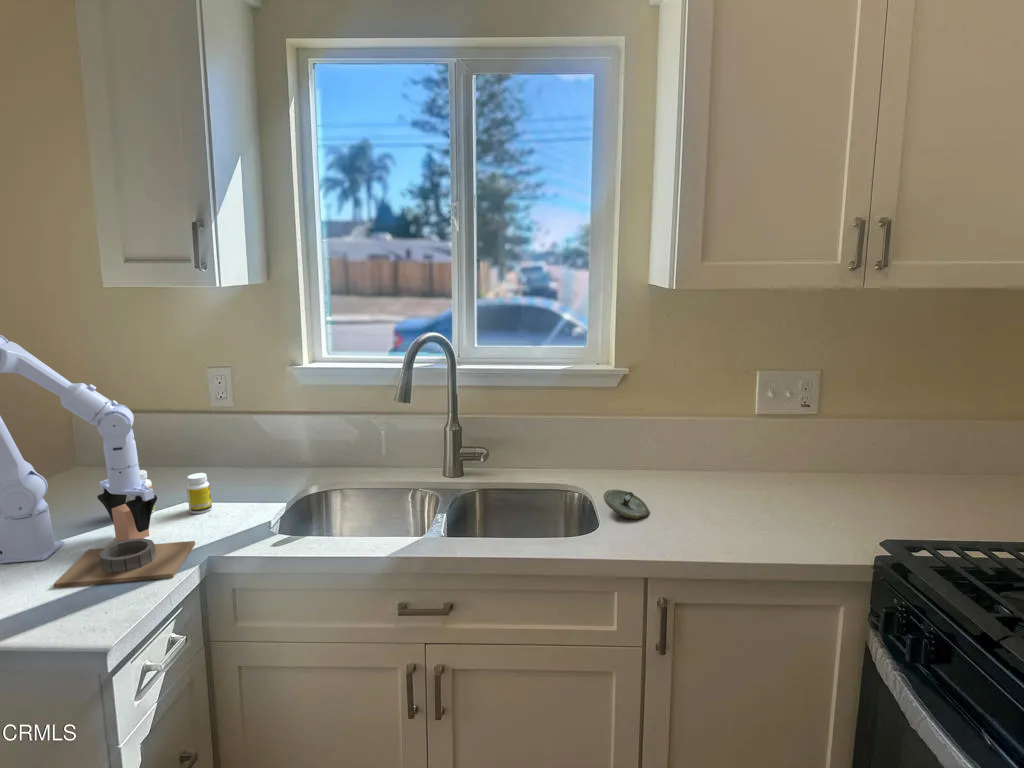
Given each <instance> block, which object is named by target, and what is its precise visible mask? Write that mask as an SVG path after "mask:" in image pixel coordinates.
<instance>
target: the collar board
mask: <svg viewBox="0 0 1024 768" xmlns="http://www.w3.org/2000/svg"><path fill="white" fill-rule="evenodd" d="M194 545H195V546H196V540H189V541H178V542H177V541H176V542H175V541H174V542H165V543H154V541H153V540H152V539H147V538H143V539H142V538H140V539H130V540H125V541H118V542H114V543H112V544H110V545H108V546H106V547H103V548H101V547H100V548H99V547H98V548H92V549H91V548H90V549H87V550H86V552H84V553H83V554H82V555H81V556H80V557H79V558H78V559H77V560H76V561H75V562H74V563H73V564H72V565H71V566H70V567H69V568H68V569H67V570H66V571H65V572H64V573H63V574H62V575H61V576H60V577H59V578H58V579H57V580H56V581H55V582H54V583H53V587H54V589H56V588H57V589H59V588H68V587H80V586H90V585H92V586H93V584H94V585H102V584H104V585H105V584H115V583H124V582H136V581H137V582H138V581H148V580H151V581H152V580H161V579H170V578H171V579H172V578H174V577H175V576H176V574H177V572H178V571H179V569H180V568H181V567H182V566H183V563H184V562H185V561H186V559H187V557H188V556H189V555H190V553H191V552H192V550H193V549H194V547H195V546H194ZM192 548H193V549H192Z"/></svg>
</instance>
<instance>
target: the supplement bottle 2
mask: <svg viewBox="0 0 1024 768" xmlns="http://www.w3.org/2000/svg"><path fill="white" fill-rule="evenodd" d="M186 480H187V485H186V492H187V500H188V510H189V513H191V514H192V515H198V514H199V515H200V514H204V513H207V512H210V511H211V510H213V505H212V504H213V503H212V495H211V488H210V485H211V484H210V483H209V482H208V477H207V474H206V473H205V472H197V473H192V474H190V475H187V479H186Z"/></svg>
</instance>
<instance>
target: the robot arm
mask: <svg viewBox="0 0 1024 768" xmlns="http://www.w3.org/2000/svg"><path fill="white" fill-rule="evenodd" d="M1 373H2V374H19V375H21V376H23V377H24V378H26V379H29V380H30V381H32V382H33V383H35V384H37V385H39V386H40V387H42V388H44V389H46V390H48V392H51V393H53V394H54V395H56V396H58V397H59V399H60V403H61V406H62V408H65V409H66V410H67V411H69V412H71V413H72V414H74V415H76V416H78V417H79V418H81V419H82V420H84V421H85V422H87V423H89V424H90V425H92V426H95V427H96V429H97V432H98V434H99V435H100V436H101V437H102V441H103V442H102V443H103V446H102V447H103V455H104V459H105V466H106V467H105V468H106V473H107V478H106V479H104V480H101V481H99V482H98V483H99V485H98V486H99V489H100V491H102V492H103V493H101V494H98V495H97V497H96V498H97V500H99V502H101V504H102V505H103V507H104V508H105V510H106V511H107V513H108V515H109V516H110V519H111V522H112V523H113V524H114V522H113V516H112V508H115V507H118V506H120V505H123V504H126V505H127V506H128V508H129V509H130V511H131V513H132V515H133V518H134V522H135V526H136V529H137V531H138V532H142V531H145V530H147V529H150V524H151V523H150V522H151V517H152V514H153V513H152V509H153V507H154V504H155V505H156V502H157V500H158V496H157V495H156V494H154V489H153V488H152V489H151V488H149V487H147V486H146V485H145V483H146V480H144V479H141V478H140V471H139V470H140V465H139V464H140V463H139V457H138V450H137V444H136V439H135V434H134V429H133V428H132V426H133V425H134V420H135V417H134V416H135V415H134V414H133V412H132V410H131V409H129V408H128V406H127V405H124V404H121V403H120V404H119V403H118V402H117V401H116V400H114V399H113V400H110V399H109V398H108V397H106V396H104V395H103V394H101V393H99V392H98V391H96V389H97V386H95V385H93V384H92V383H90V384H89V385H87V384H86V383H84V382H79V383H77V382H76V383H72V382H71V381H69V380H68V379H67V378H66V377H64V376H62V375H61V374H59V373H58V372H57V371H55V370H54V369H52V368H51V367H49V366H48V365H46V364H45V363H44V362H42V361H41V360H40V359H38V358H37V357H36V356H34V355H32V353H30V352H28V351H27V350H26V349H24V347H22V346H21V345H20V344H18V343H15V342H14V341H9V340H8V338H6V337H5V336H3V335H2V334H0V374H1ZM8 429H9V428H7V425H6V424H5V422H4V419H3V418H2V416H1V415H0V564H10V563H21V562H22V563H23V562H33V561H34V562H35V561H45V560H46V559H48V558H49V557H50V556H52V555H53V553H54V552H56V551H57V550H58V549H59V548H60V547H61V546H63V544H65V540H55V538H54V531H53V527H52V521H51V515H50V514H51V513H50V508H49V504H48V503H47V502H46V501H45V499H44V497H45V496H46V494H47V493H48V490H49V489H48V488H49V487H48V486H49V484H48V482H47V480H46V478H45V477H44V476H43V475H41V474H39V473H38V472H37V470H35V468H34V467H33V465H32V464H31V463H30V462H28V461H26V460H25V459H24V457H23V456H22V454H21V452H20V450H19V448H18V447H17V445H16V442H15V441H14V439H13V437H12V435H11V433H10V432H9V430H8ZM127 495H129V496H133V497H135V499H134V500H131V501H128V502H127V499H126V497H127Z"/></svg>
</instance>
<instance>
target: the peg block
mask: <svg viewBox="0 0 1024 768" xmlns="http://www.w3.org/2000/svg"><path fill="white" fill-rule="evenodd" d="M112 516H113V521H112V523H113V522H114V523H113V529H114V534H115V541H118V542H121V541H125V540H130V539H140V538H142V539H143V538H144V539H146V538H147V537H149V536H150V530H149V529H150V528H149V529H147V530H145V531H142V532H138V531H137V529H136V526H135V522H134V518H133V515H132V513H131V511H130V509H129V508H128V506H127V505H126V504H123V505H120V506H118V507H115V508H112Z"/></svg>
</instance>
